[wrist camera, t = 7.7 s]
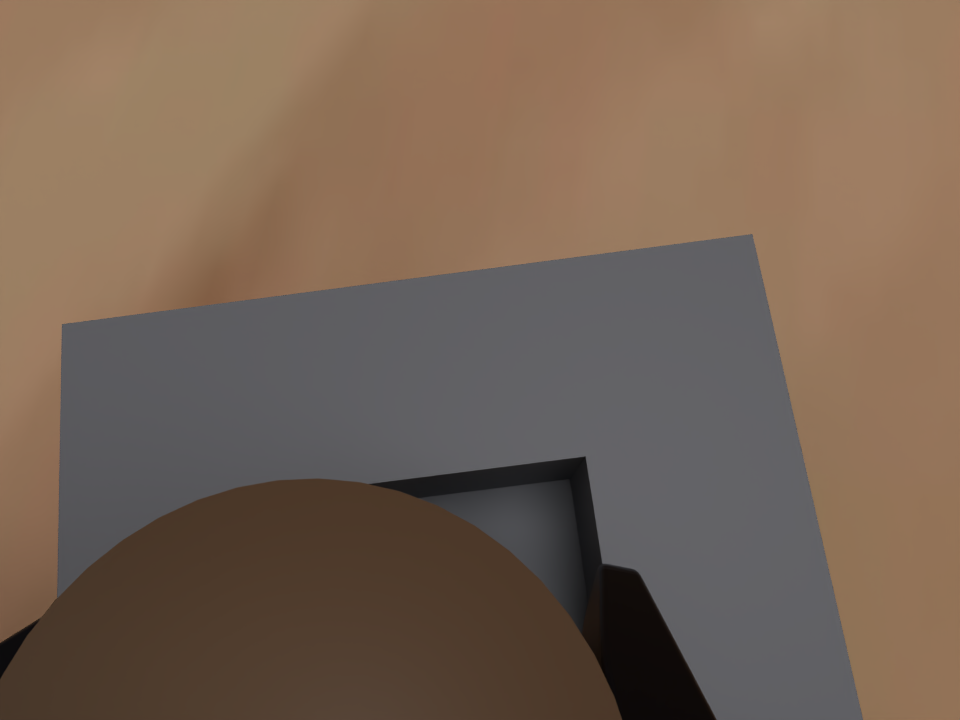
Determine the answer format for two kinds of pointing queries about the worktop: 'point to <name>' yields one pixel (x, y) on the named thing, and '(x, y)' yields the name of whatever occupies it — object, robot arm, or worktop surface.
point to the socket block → (500, 439)
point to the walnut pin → (306, 620)
